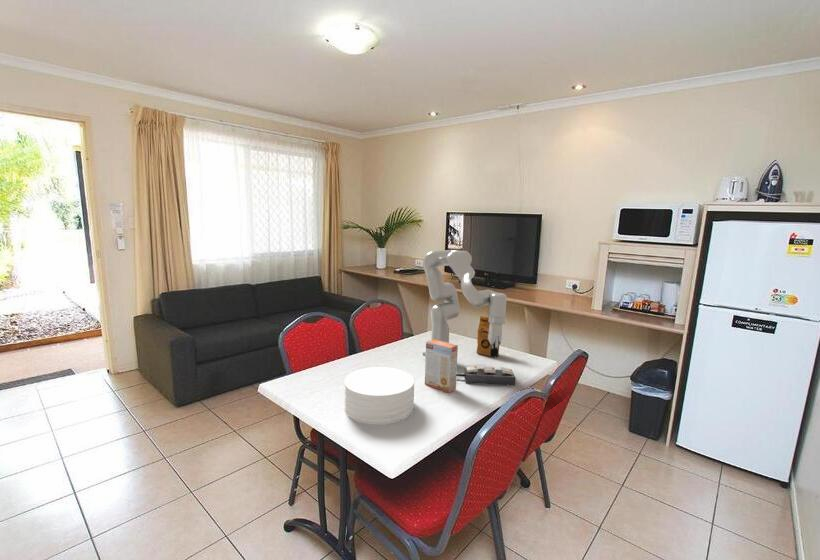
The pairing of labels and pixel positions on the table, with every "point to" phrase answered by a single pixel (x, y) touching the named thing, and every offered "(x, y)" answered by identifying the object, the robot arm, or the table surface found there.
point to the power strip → (488, 377)
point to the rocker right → (507, 370)
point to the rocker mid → (489, 369)
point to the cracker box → (441, 365)
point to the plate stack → (379, 395)
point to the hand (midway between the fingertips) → (493, 356)
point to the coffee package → (484, 337)
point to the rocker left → (472, 369)
